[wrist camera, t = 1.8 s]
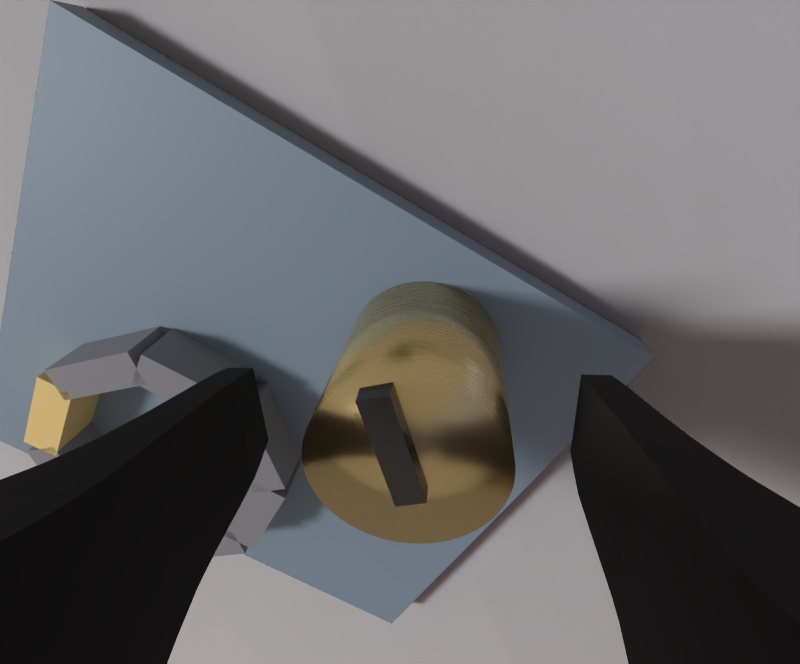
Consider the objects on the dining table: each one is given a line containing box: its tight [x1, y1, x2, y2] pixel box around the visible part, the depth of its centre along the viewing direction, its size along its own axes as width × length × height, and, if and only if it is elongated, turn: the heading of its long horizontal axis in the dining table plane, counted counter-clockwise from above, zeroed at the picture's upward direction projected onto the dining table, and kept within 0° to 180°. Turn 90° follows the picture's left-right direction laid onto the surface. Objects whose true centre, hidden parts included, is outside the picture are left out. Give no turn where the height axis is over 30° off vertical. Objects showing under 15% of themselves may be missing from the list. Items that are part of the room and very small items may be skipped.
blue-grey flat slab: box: [0, 0, 654, 623], centre depth 14 cm, size 16×14×2 cm
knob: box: [302, 281, 516, 544], centre depth 11 cm, size 4×4×5 cm
